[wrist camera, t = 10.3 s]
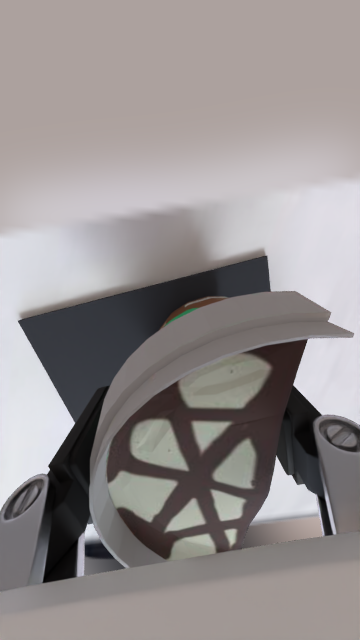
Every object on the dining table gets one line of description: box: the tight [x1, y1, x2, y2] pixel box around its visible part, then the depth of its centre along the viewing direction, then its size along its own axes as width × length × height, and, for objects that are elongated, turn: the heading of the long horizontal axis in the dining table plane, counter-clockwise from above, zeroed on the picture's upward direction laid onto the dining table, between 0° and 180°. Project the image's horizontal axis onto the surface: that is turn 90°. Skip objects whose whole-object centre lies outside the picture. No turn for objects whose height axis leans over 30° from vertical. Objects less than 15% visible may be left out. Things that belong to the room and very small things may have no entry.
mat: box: [18, 256, 270, 423], centre depth 15 cm, size 20×11×1 cm, turn 104°
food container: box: [89, 291, 354, 568], centre depth 10 cm, size 12×6×10 cm, turn 176°
